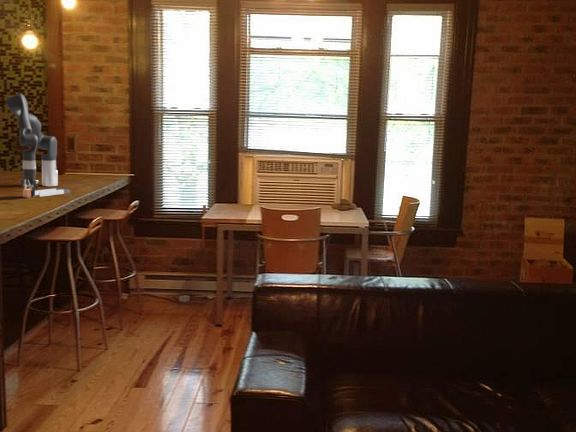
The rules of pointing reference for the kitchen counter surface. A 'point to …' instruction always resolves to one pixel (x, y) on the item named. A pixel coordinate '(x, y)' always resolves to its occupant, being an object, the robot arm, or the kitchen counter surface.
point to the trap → (64, 190)
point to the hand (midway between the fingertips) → (30, 196)
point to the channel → (48, 192)
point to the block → (27, 193)
